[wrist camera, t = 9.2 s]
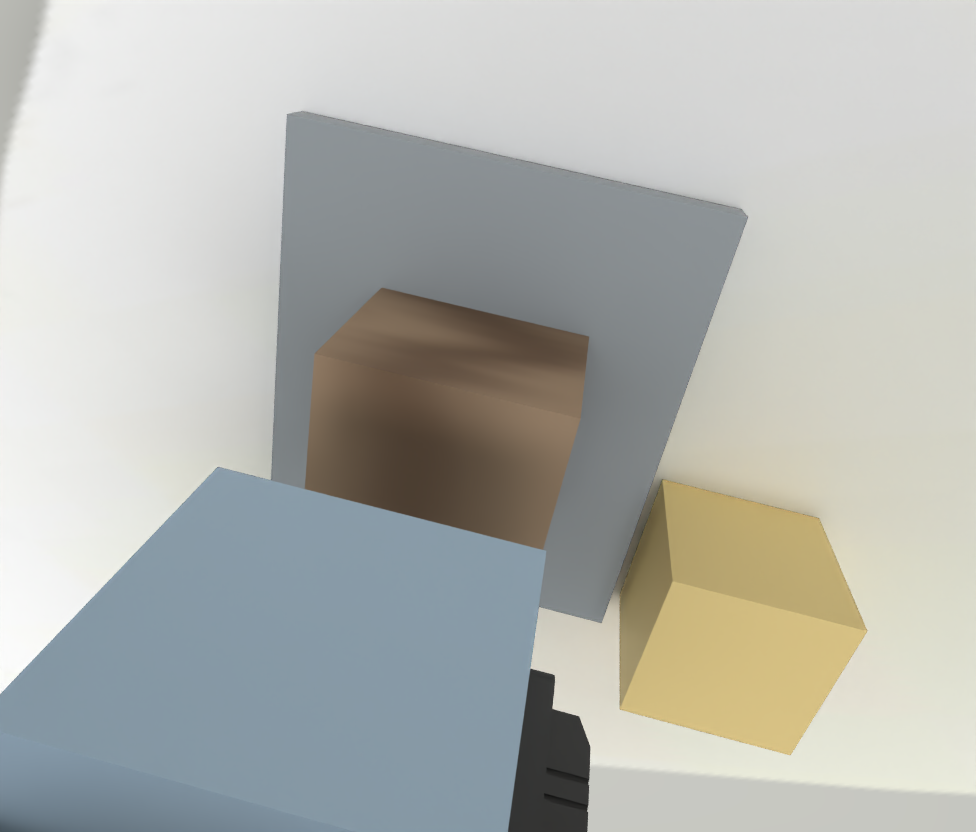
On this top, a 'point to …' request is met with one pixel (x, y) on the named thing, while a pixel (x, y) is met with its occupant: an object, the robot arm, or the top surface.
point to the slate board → (508, 301)
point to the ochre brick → (733, 618)
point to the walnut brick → (447, 415)
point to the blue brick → (281, 677)
